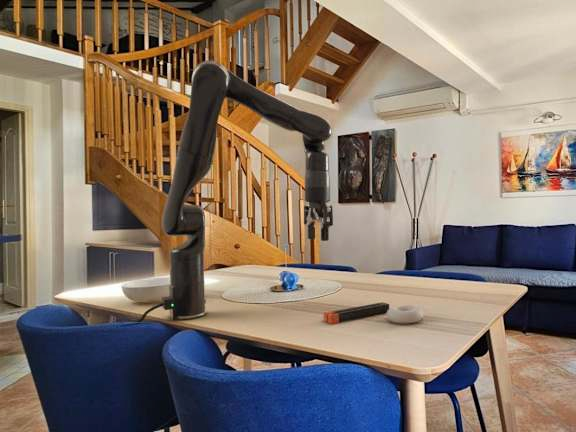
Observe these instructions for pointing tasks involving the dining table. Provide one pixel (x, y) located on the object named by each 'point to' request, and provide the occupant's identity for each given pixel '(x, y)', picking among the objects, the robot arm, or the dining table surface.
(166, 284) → the serving bowl
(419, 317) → the donut
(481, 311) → the dining table surface
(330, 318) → the dark rod red tip
